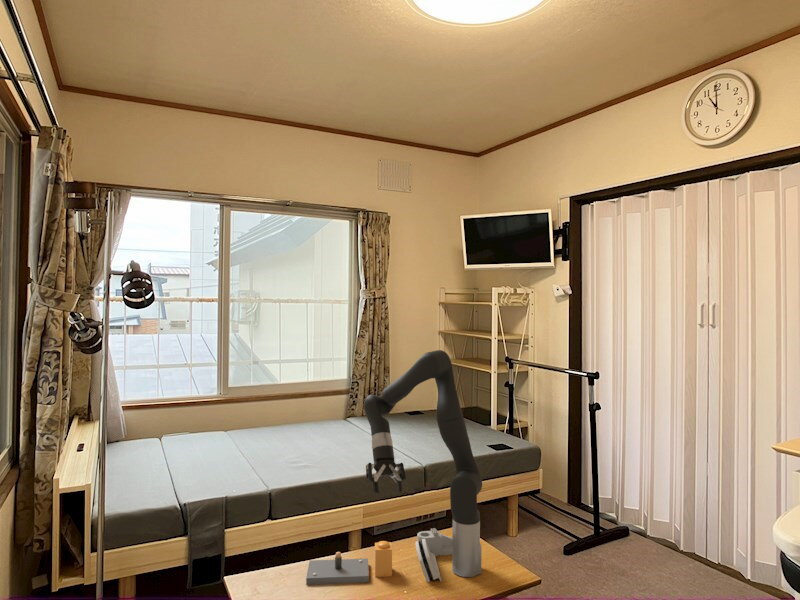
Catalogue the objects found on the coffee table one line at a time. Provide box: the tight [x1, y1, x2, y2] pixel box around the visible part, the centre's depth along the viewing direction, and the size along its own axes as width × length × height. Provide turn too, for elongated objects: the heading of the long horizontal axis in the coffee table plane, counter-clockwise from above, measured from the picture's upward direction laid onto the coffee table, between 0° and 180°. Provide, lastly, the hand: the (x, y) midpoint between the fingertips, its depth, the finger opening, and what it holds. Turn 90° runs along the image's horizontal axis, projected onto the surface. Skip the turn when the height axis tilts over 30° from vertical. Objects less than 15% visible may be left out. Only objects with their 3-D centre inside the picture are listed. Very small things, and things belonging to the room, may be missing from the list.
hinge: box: [415, 539, 442, 583], centre depth 181 cm, size 17×5×10 cm, turn 3°
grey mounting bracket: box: [416, 527, 453, 557], centre depth 194 cm, size 6×18×8 cm, turn 101°
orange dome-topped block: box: [374, 540, 393, 578], centre depth 179 cm, size 6×6×10 cm
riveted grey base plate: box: [305, 551, 370, 585], centre depth 178 cm, size 20×12×7 cm, turn 95°
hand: (388, 493), depth 185 cm, fingers open, 8 cm apart
